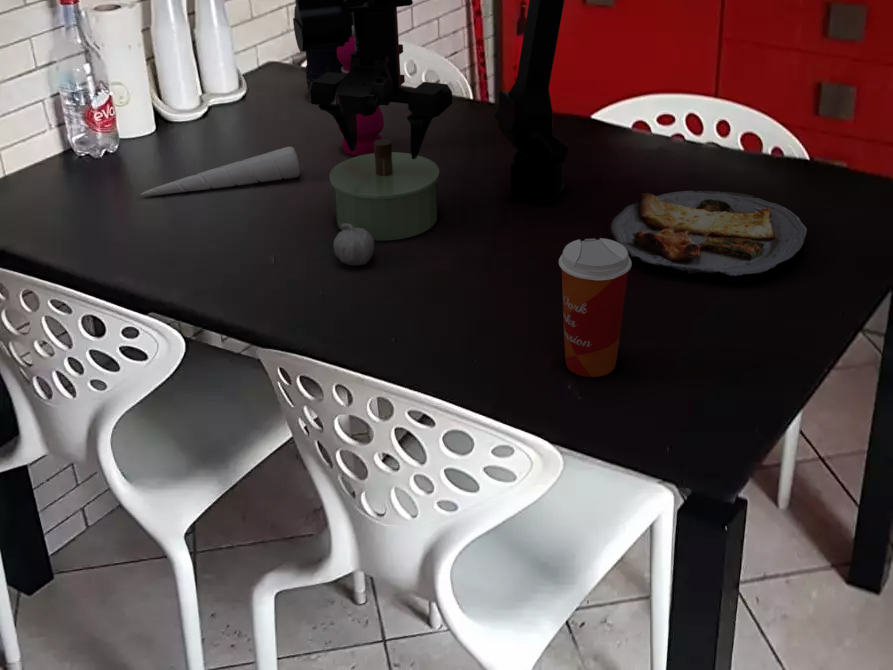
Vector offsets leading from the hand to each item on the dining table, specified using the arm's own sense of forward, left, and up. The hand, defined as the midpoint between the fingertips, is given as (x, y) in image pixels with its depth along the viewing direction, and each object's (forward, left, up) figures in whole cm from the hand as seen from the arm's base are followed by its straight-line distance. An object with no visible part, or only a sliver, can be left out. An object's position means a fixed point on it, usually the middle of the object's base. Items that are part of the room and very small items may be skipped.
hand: (383, 154), depth 159 cm
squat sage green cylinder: (0, 0, -10) cm, 10 cm away
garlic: (-1, +14, -10) cm, 17 cm away
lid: (0, 0, -3) cm, 3 cm away
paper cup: (-37, +28, -10) cm, 47 cm away
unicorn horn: (+28, -2, -10) cm, 29 cm away
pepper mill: (+15, -22, -10) cm, 28 cm away
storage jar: (+31, -44, -10) cm, 55 cm away
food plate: (-43, -6, -10) cm, 45 cm away
